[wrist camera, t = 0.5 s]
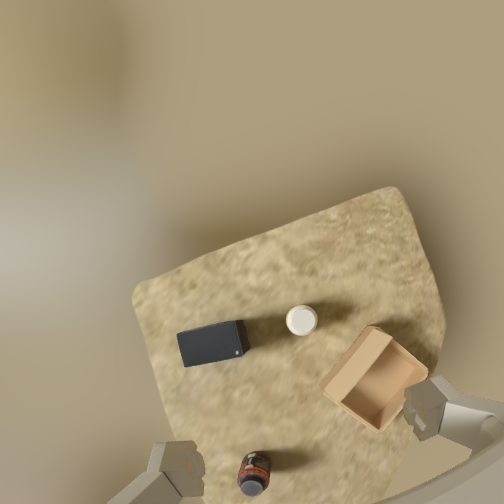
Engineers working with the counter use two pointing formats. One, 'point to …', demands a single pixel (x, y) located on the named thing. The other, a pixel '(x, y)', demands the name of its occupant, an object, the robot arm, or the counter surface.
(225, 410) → the counter surface
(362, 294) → the counter surface
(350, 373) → the flap
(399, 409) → the carton
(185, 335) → the small box
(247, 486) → the supplement bottle
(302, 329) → the supplement bottle
